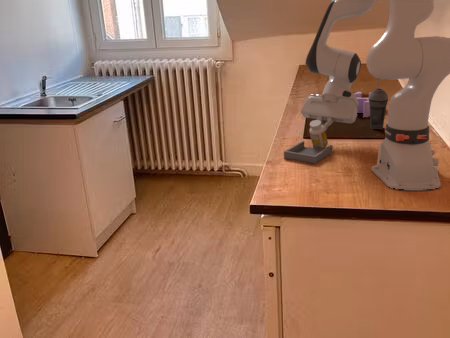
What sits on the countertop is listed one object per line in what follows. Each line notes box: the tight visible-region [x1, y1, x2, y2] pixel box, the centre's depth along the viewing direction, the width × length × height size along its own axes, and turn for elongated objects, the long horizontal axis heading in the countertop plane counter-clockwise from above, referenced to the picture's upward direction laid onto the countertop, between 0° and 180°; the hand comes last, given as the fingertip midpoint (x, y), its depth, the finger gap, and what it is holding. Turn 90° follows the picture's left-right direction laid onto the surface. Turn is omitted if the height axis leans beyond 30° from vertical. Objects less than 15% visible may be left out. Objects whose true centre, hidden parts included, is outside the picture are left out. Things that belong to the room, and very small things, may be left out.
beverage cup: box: [368, 78, 389, 130], centre depth 179 cm, size 7×7×20 cm
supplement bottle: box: [308, 119, 329, 150], centre depth 162 cm, size 5×5×10 cm
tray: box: [283, 140, 334, 165], centre depth 158 cm, size 13×12×2 cm
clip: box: [353, 91, 371, 118], centre depth 206 cm, size 20×12×7 cm, turn 158°
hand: (321, 129), depth 164 cm, fingers closed, pressing on supplement bottle
